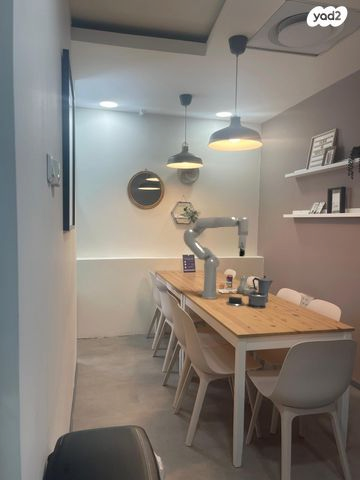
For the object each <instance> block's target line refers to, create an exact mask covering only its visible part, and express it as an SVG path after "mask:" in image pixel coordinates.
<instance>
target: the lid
mask: <svg viewBox="0 0 360 480" xmlns="http://www.w3.org/2000/svg"><path fill="white" fill-rule="evenodd" d="M226 305H227V306H231V307H242V306H243V307H244V305H245V303H244V302H243V297H241V296H239V297H237V296H229V297H228V301H226Z"/></svg>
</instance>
